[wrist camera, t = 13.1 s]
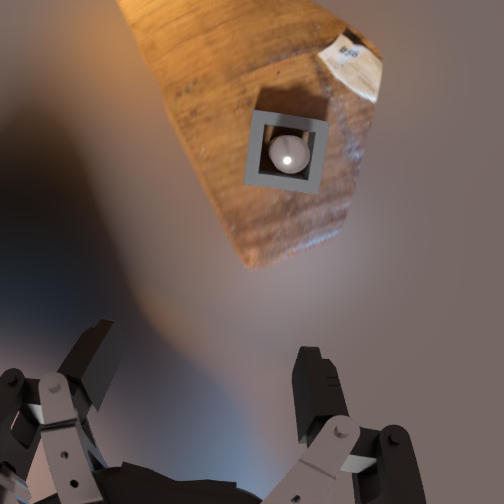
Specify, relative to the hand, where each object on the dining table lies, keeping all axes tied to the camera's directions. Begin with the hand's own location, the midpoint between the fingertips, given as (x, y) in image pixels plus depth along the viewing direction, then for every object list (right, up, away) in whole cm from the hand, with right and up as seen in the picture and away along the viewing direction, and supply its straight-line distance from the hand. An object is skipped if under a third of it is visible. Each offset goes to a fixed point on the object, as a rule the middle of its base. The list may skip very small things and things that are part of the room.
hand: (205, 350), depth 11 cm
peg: (+6, +17, +23) cm, 29 cm away
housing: (+6, +17, +23) cm, 29 cm away
